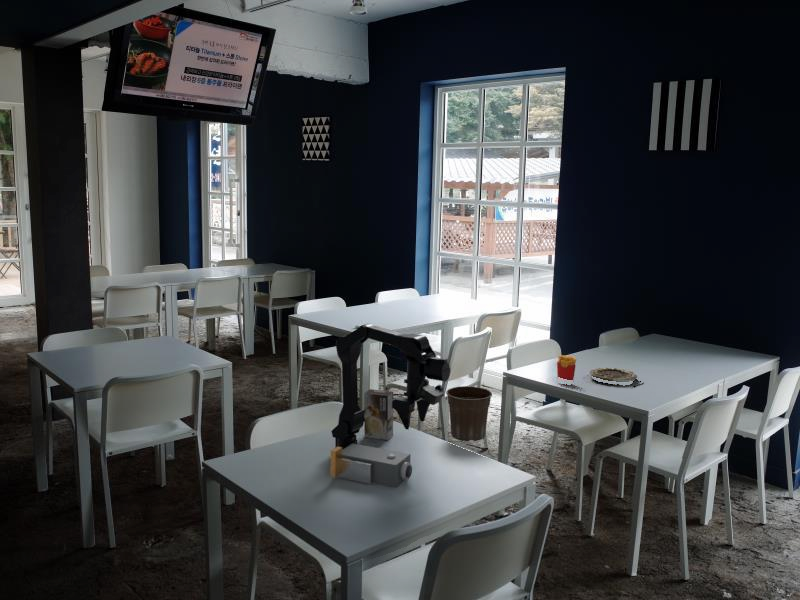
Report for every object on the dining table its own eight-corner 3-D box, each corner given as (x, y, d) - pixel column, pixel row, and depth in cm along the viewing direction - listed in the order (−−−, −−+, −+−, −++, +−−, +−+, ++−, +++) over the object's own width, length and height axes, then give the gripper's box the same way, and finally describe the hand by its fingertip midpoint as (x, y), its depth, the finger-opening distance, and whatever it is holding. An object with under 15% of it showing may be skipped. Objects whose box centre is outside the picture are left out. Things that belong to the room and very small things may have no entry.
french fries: (554, 382, 330) (556, 355, 328) (560, 380, 333) (561, 353, 331) (571, 386, 323) (573, 358, 321) (576, 384, 326) (578, 357, 324)
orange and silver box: (330, 481, 210) (330, 450, 209) (339, 475, 215) (339, 445, 214) (363, 488, 206) (364, 457, 204) (372, 482, 210) (372, 451, 209)
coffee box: (394, 435, 254) (394, 391, 251) (387, 440, 248) (388, 395, 245) (369, 431, 257) (370, 388, 254) (363, 437, 251) (363, 393, 248)
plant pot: (480, 447, 243) (481, 401, 241) (437, 438, 251) (438, 394, 248) (497, 433, 257) (499, 390, 255) (456, 426, 265) (457, 384, 262)
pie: (622, 392, 316) (622, 381, 316) (570, 381, 336) (570, 370, 336) (653, 382, 335) (654, 371, 334) (602, 372, 355) (603, 362, 354)
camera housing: (336, 475, 216) (336, 451, 215) (352, 464, 225) (352, 441, 224) (401, 489, 207) (402, 464, 205) (416, 477, 216) (416, 453, 215)
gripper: (423, 387, 206) (422, 439, 208) (453, 374, 222) (451, 422, 224) (391, 381, 212) (390, 431, 214) (422, 368, 227) (421, 415, 230)
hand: (414, 425), depth 220 cm, fingers open, 9 cm apart
